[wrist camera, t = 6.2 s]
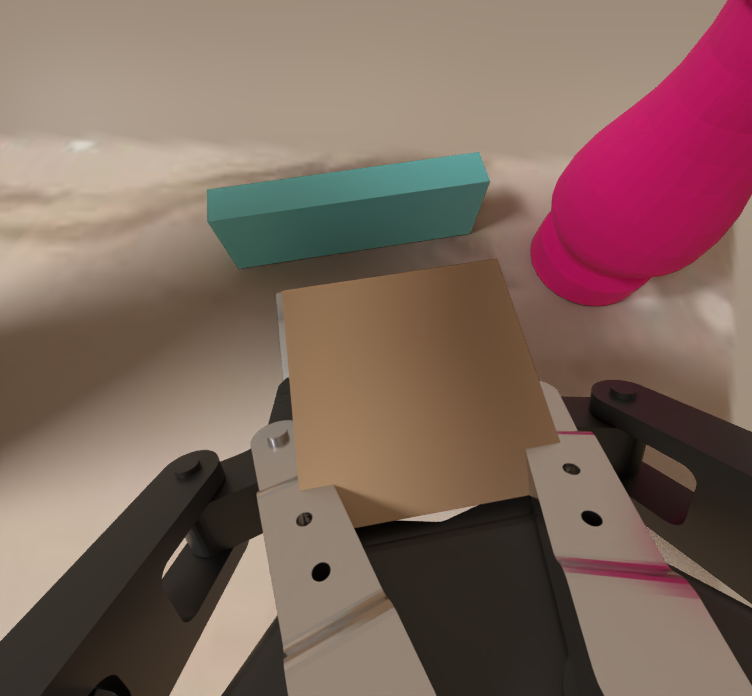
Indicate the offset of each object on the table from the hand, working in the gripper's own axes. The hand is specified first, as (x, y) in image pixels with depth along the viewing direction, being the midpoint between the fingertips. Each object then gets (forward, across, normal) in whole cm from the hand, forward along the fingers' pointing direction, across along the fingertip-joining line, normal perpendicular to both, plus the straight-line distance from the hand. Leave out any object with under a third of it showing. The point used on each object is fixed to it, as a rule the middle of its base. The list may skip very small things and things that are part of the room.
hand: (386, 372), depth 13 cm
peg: (+2, 0, +4) cm, 5 cm away
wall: (+11, 0, -3) cm, 12 cm away
